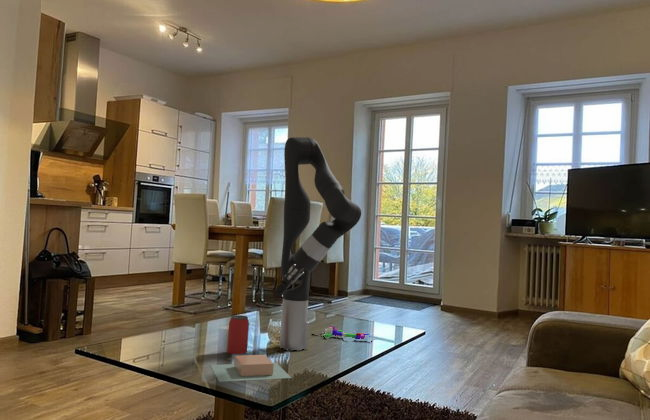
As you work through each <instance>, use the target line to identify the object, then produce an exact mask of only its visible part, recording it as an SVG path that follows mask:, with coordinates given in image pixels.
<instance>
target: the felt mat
mask: <svg viewBox="0 0 650 420" xmlns="http://www.w3.org/2000/svg"><path fill="white" fill-rule="evenodd" d="M273 363H274V367H273V375H263V376H243V377H242V376H241V375H240V374H239V372H238V371H237V370H236V368H235V367H234V363H227V364H225V363H224V364H223V363H222V364H210V365H209V366H210V367H211V370H212V372H213V373H214V374H215V375H214V376H215V377H216V379H217V380H218V382H219V383H221V382H222V383H224V382H239V381H241V382H242V381H259V380H261V381H262V380H263V381H264V380H276V379H277V380H278V379H279V380H280V379H292V378H293V377H292V376H290V375H289V373H288V372H286V370H284V369H283V368H282V367H281V366H280V365H279V364H278V363H277V362H273Z"/></svg>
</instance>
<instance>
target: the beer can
mask: <svg viewBox="0 0 650 420" xmlns="http://www.w3.org/2000/svg"><path fill="white" fill-rule="evenodd" d="M249 330H250V322H249V317H248V316H247V315H239V314H238V315H231V317H230V320H229V322H228V331H227V332H228V334H227V342H226V343H227V347H226V353H227V354H228V355H246V354H247V353H248V344H249V343H248V342H249Z"/></svg>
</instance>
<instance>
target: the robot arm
mask: <svg viewBox="0 0 650 420" xmlns="http://www.w3.org/2000/svg"><path fill="white" fill-rule="evenodd" d="M283 156H284V160H283V161H284V177H285V178H284V179H285V181H284V182H285V183H284V190H285V191H284V204H283V239H282V241H283V242H282V250H281V251H282V252H281V259H280V260H281V261H280V263H281V264H280V276H281V278H282V280H281V281H280V285H279V286H278V287H277V288H276V289H275V291H274V294H275V295H276V296H277V297H278V298H280V297H281V296H282V303H281V304H282V305H281V319H280V321H281V322H280V334H279V336H280V337H279V348H280V347H281V348H284V349H283V350H285V349H290V350H289V351H293V350H297V351H303V350H302V349H304V350H308V339H309V328H310V327H309V324H310V322H309V321H308V311H309V294H310V282H311V281H310V280H311V273H312V271H314V270H315V268H317V267H318V265H319V264H320V263H321V261H322V260H323V259H324V257H325V256H326V255H327V254H328V252H329V250H330V249H331V248H332V246H333V245H334V244H335V243H336V242H337V240H338V239H339V238H341V237H342V236H344V235H345V234H346V233H348V232H349V231H350V230H352V229H353V228H354V227H355V226H356V225H357V224H358V223H359V222H360V219H361V217H362V209H361V207H360V206H359V205H358V204H356V203H355V202H353V201H352V200H351V199H349V198H348V197H347V196H346V195H345V194H346V193H345V190H344V188H343V186H342V185H341V183H340V182H339V181H338V179H337V178H336V176H335V175H334V173H333V171H332V170H331V168H330V166H329V164H328V162H327V159H326V158H325V157H326V156H325V155H324V153H323V151H322V148H321V146H320V145H319V143H318V142H317V140H316V139H314V138H312V137H307V136H306V137H304V136H303V137H299V136H297V137H294V136H293V137H289V138H287V139H286V141H285V144H284V155H283ZM301 165H311V166H312V167H313V168H314V170H315V173H314V179H313V180H314V186H315V188H316V190H317V192H318V194H319V195H320V196H321V198H322V199H323V201H324V204H325V206H326V210H327V211H328V213H329V215H330V216H331V217H333V219H332V220H331V221H323V222H321V223H320V224H319V225H318V226H317V227H316V228H315V230H314V231H313V232H312V233H311V235H309V237H307V238H306V239H305V241H304V242H303V243H302V244H301V246H300V247H299V248H298V250H297V251H296V252H295V253H293V254H292V249H293V247H294V245H295V244H296V241H297V240H298V239H299V237H300V236H301V234H302V233H303V232H304V231H305V229H306V228H307V226H308V224H309V223H310V219H311V199H310V197H309V195H308V193H307V192H306V190H305V188H304V186H303V184H302V182H301V180H300V173H299V166H301ZM296 281H300V284H298V285H297V286H295V287H292V288H290V287H291V285H293V284H294V283H295V282H296ZM288 288H289V289H288ZM281 348H280V349H281Z"/></svg>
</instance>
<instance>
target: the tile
mask: <svg viewBox="0 0 650 420" xmlns="http://www.w3.org/2000/svg"><path fill="white" fill-rule="evenodd" d="M233 364H234V367H235V368H236V370H237V371H238V372H239V374H240V375H241V376H242V377H243V376H263V375H273V367H274V362H273V361H272V360H271V359H270V358H269V357H268V356H267V355H266V354H250V355H249V354H247V355H246V354H239V355H234V359H233Z"/></svg>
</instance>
